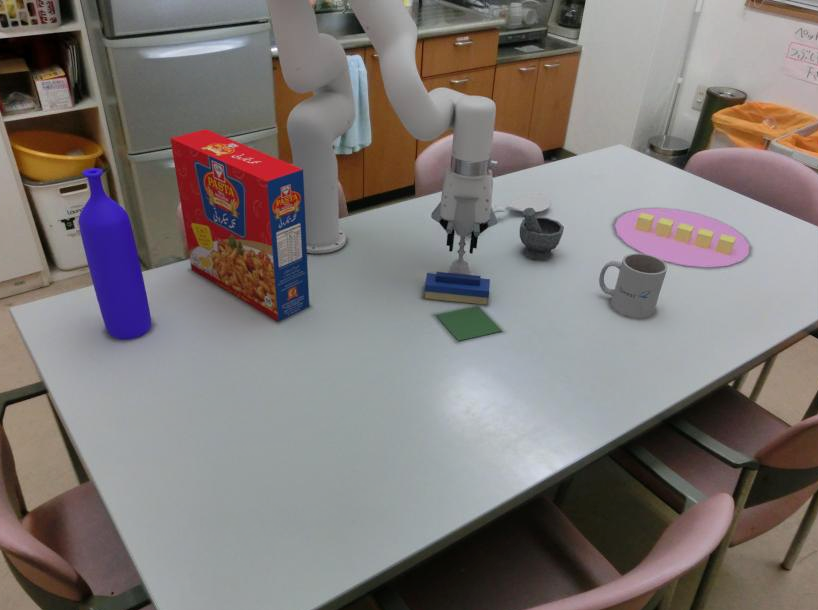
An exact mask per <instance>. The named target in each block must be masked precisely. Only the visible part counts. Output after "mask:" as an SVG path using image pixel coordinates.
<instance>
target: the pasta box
mask: <svg viewBox="0 0 818 610" xmlns="http://www.w3.org/2000/svg"><path fill="white" fill-rule="evenodd" d="M170 146H171V151H172V158H173V164H174V170H175V178H176V183H177V189H178V195H179V202H180V206H181V214H182V220H183V225H184V232H185V239H186V243H187V250H188V256H189V263H190V269H191V271H192V272H194V273H195V274H197V275H199V276H200V277H202V278H203V279H205V280H207V281H209V282H210V283H212V284H214V286H215V285H216V286H217V287H218V288H220V289H222V290H223V291H226V292H227V293H229V294H231V295H232V296H234V297H235V298H237V299H238V300H240V301H242V302H244V303H245V304H247V305H249V306H251V307H252V308H253V309H255V310H257V311H259V312H261V313H262V314H264V315H266V316H267V317H269V318H271V319H272V320H274V321H276V322H277V323H279V322H281V321H283V320H285V319H287V318H290V317H292V316H293V315H296V314H297V313H300V312H301V311H303V310H305V309H307V308H309V307H310V292H309V291H310V290H309V268H308V253H307V244H306V222H305V200H304V178H303V169H301V168H298V167H296V166H294V165H293V164H291V163H288V162H286V161H284V160H282V159H279V158H277V157H274V156H272V155H270V154H267V153H264V152H262V151H260V150H257V149H255V148H253V147H250V146H248V145H245V144H243V143H241V142H238V141H237V140H233V139H231V138H228V137H226V136H223V135H222V134H219V133H216V132H214V131H212V130H209V129H207V128H206V129H205V128H204V129H201V130H197V131H194V132H190V133H185V134H181V135H177V136H174V137H173V136H172V137H170Z"/></svg>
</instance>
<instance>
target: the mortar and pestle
mask: <svg viewBox="0 0 818 610" xmlns="http://www.w3.org/2000/svg"><path fill="white" fill-rule="evenodd" d="M521 213H522V217H523V219H522V220H521V223H520V225H519V239H520V241H521V243H522V244H523V245H524V249H523V254H524V255H525V256H526V257H527V258H530V259H533V260H541V261H543V260H547V259H550V257H551V254H552V250H555V249H556V248H557V247H558V245H559V244H560V241H561V240H562V236H563V234H564V229H565V226H563V224H562V223H560V221H558V220H556V219H552V218H550V217H545V216H544V217H543V216H536V213H535V210H534V209H533V208H526V209H525V210H524V211H523V212H521Z"/></svg>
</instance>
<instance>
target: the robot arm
mask: <svg viewBox="0 0 818 610" xmlns="http://www.w3.org/2000/svg"><path fill="white" fill-rule="evenodd" d="M346 1H347V3H348V5H349V7H350V9H351V10H352V12H353V14H354V16H355V17H356V18H357V20H358V23H359V24H360V26H361V27H362V29H363V31H364V32H365V35H366V36H367V38H368V39H369V41H370V43H371V45H372V46H373V48H374V50H375V52H376V54H377V57H378V61H379V63H378V64H379V69H380V70H379V71H380V75H381V79H382V83H383V87H384V91H385V94H386V97H387V100H388V102H389V103H390V105H391V107H392V109H393V110H394V113H395V114H396V117H398V119H399V121H400V123H401V124H402V126H403V127H404V128H405V130H406V131H407V132H408V133H409V135H410V136H412V138H414V139H416V140H418V141H421V142H431V141H433V140H435V139H438V137H440V136H441V135H443V133H445V132H447V131H451V130H452V131H453V134H452V144H451V145H452V146H451V156H450V159H451V160H450V166H447V167H446V170H445V174H444V178H443V184H442V190H441V196H440V197H441V199H440V202H439V203H438V204H437V206H436V207H435V208H434V210H433V211H432V212H431V215H430V217H431V219H432V220H434V221H435V222H436V223H439V225H440V226H441V227H442V228H443V229H444V231H445V233H446V243H445V244H446V245H445V246H446V247H449V248H448V252H449V253H452V252H453V249H454V243H455V233H456V231H455V228H454V223H453V220H454V215H455V210H456V205H457V201H456V200H455V198H454V197H456V198H459V199H464V200H475V199H479V200H478V201H477V202H476V203H475V225H474V229H473V231H472V232H471V233H470V242H469V243H470V244H469V251H468V252H469V254H470V255H471V254H472V255H473V253H474V249H476V250H477V249H478V248H477V247H478V240H479V236H480V235H481V234H482V233H484V232H485V231H486V230H487V229H489V228H491V227H493V226H496V225H498V223H499V219H498V217H497V215H496V213H494V211H493V209H494V208H493V206H492V201H493V189H494V188H493V187H494V182H493V181H494V180H493V171H492V170H491V169H497V168H498V160H494V159H492V157H491V154H492V149H493V148H492V146H493V140H494V131H495V122H496V116H497V115H496V114H497V106H496V105H497V104H496V103H495V101H494V100H493V99H491V98H489V97H486V96H482V95H468V94H466V93H462V92H459V91H457V90H454V89H452V88H448V87H436V88H434V89H432V90H430V91H429V92H428V90H427V88H426V87H425V85H424V83H423V80H422V78H421V76H420V74H419V70H418V67H417V63H416V62H417V61H416V50H417V49H416V48H417V42H418V35H419V33H418V27H417V25H416V22H415V20H414V19H413V18H412V15H411V14H410V12H409V11H408V8H407V6H406V5H405V3H404V1H403V0H346ZM265 2H266V6H267V9H268V13H269V17H270V20H271V25H272V30H273V36H274V41H275V46H276V49H277V50H276V51H277V55H278V59H279V65H280V68H281V69H280V70H281V73H282V76H283V79H284V82H285V84H286V86H287V87H288V88H289V90H291V91H293V92H294V93H297V94H308V93H312V96H310V97H308V98H305V99H304V100H302V101H300V102H299V103H298V104H297V105H296V106H294V107H293V109H291V111H290V112H289V115H288V116H287V122H286V131H287V137H288V139H289V140H288V141H289V145H290V150H291V157H292V165H294V166H296V167H298V168H301V169H303V178H304V200H305V222H306V244H307V254H314V255H315V254H316V255H317V254H329V253H333V252H336V251H338V250H340V249H342V248H343V247H344V246H345V244H346V243H347V237H346V236H347V235H346V233H344V232H343V231H342V230H341V229H340V220H339V219H340V216H339V213H340V212H339V210H340V208H339V165H338V158H337V156H336V152H335V150H334V144H333V143H334V141H335V140H337V139H338V138H339V137H341V136H343V135H345V134H346V133H347V132H348V131H350V129H351V128H352V127H353V125H354V123H355V121H356V101H355V96H354V89H353V84H352V83H353V82H352V78H351V71H350V65H349V60H348V56H347V54H346V52H345V49H344V47H343V46H342V44H341V43H340V41H339V40H338V39H337V38H336V37H334V36H332V35H331V34H327V33H320V32H319V28H318V22H317V21H318V20H317V17H316V13H315V12H316V11H315V9H314V7H313V4H312V2H311V1H310V0H265Z"/></svg>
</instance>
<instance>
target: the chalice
mask: <svg viewBox="0 0 818 610" xmlns="http://www.w3.org/2000/svg"><path fill="white" fill-rule="evenodd" d="M454 198H455V200H456V201H457V205H456V210H455V215H454V220H453V223H454V226H453V227H454V230H455V233H456V235H457V236H459V237H460V239H459V242H458V243H457V244H458V247H459V249H458V250H457V253H458V258H457V259H455V260H454V261H452V262H451V265H450V266H449V268H448V269H447V273H456V274H466V275H472V271H471V269H470V265H469V263H468V262H467V261H466V260H464V254H466V251H465V246H466V244H467V243H466V241H465V238H466V237H468V236H470V235H471V233H472V232H471V231H472V229H473V228H474V225H475V203H476V202H477V201H478V200H479V199H475V200H464V199H459V198H456V197H454Z"/></svg>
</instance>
